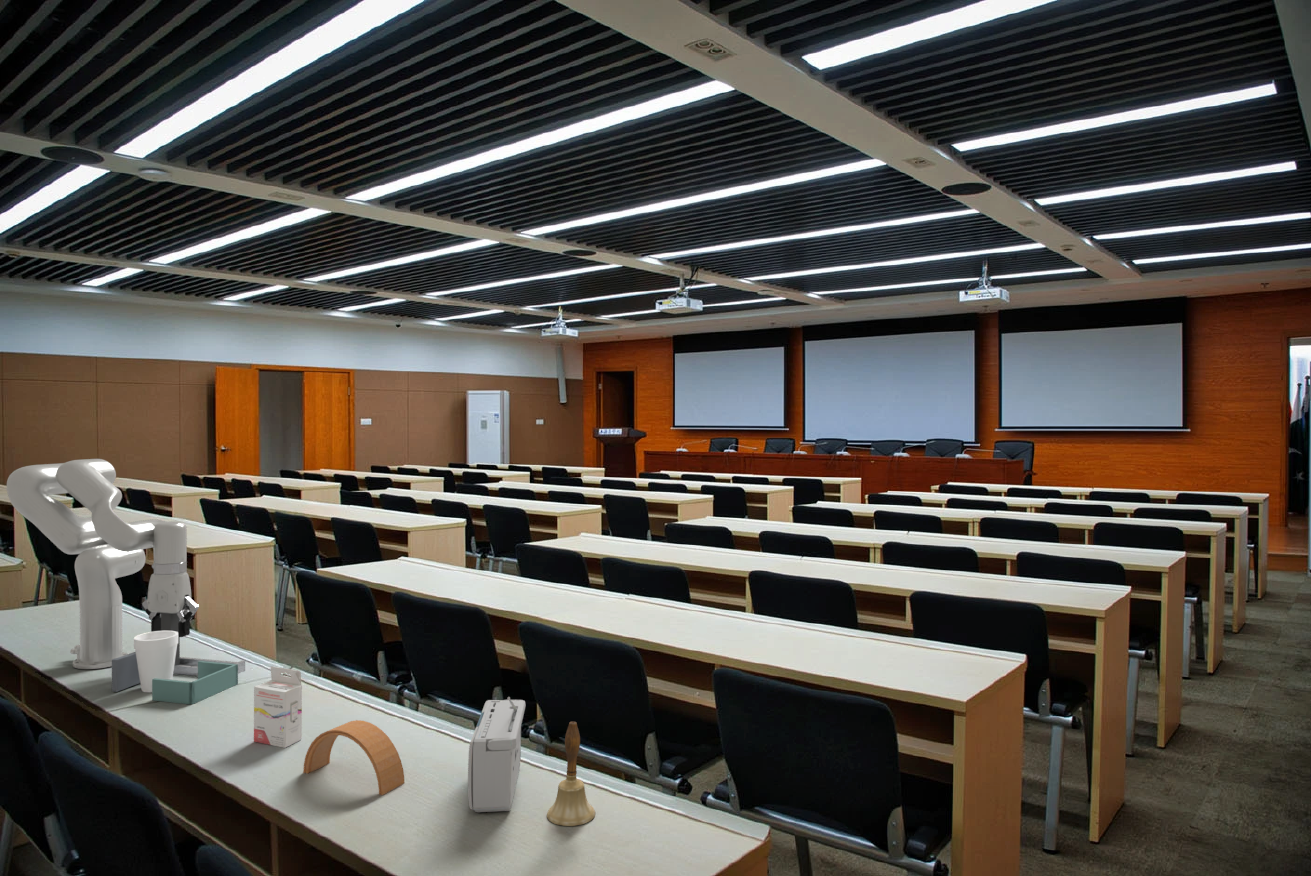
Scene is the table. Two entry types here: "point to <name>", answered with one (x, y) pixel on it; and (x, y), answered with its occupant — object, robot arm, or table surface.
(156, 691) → the box
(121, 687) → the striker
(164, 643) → the foam cup
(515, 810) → the table surface
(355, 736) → the arch
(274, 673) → the ink cartridge box
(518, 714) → the stereo radio cassette player
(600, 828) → the table surface
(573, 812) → the hand bell
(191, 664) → the striker rails
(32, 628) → the table surface
